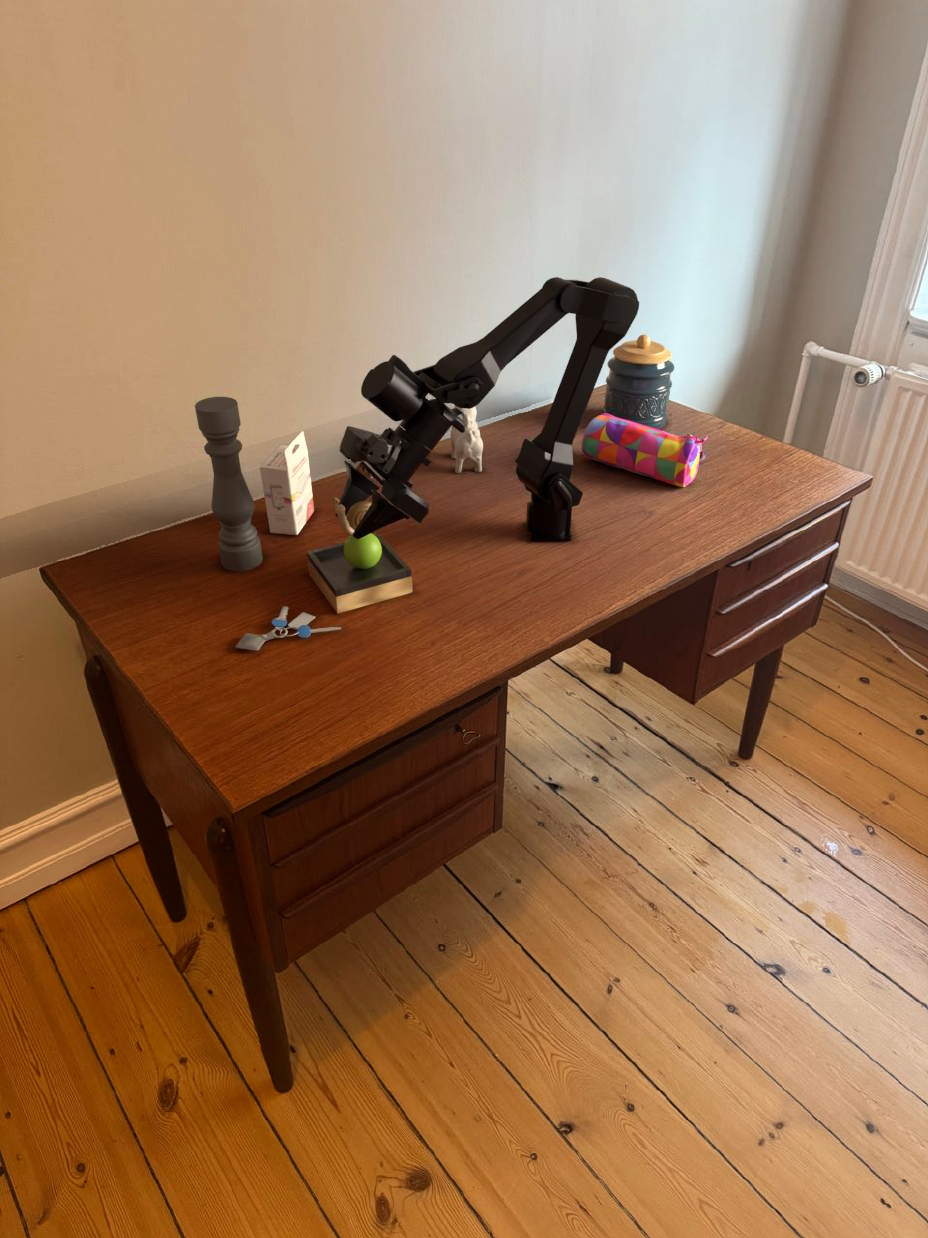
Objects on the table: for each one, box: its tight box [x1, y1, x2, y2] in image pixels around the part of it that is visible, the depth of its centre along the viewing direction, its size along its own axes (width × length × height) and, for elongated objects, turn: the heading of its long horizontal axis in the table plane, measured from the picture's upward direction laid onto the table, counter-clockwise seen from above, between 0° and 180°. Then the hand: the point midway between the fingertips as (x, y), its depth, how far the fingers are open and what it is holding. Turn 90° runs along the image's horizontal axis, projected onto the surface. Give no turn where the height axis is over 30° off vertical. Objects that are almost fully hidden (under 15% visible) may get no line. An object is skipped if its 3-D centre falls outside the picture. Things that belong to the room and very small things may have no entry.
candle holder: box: [194, 396, 264, 572], centre depth 127 cm, size 6×6×25 cm
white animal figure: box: [450, 404, 484, 474], centre depth 161 cm, size 5×13×11 cm, turn 8°
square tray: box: [306, 533, 413, 614], centre depth 128 cm, size 12×12×4 cm
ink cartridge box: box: [258, 430, 315, 536], centre depth 140 cm, size 9×5×15 cm, turn 168°
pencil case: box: [581, 412, 709, 488], centre depth 157 cm, size 22×9×9 cm, turn 58°
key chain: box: [235, 605, 342, 652], centre depth 119 cm, size 14×8×1 cm, turn 114°
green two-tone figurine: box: [333, 496, 382, 569], centre depth 123 cm, size 5×6×12 cm
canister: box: [602, 334, 675, 430], centre depth 174 cm, size 13×13×18 cm
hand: (346, 527), depth 123 cm, fingers open, 6 cm apart
